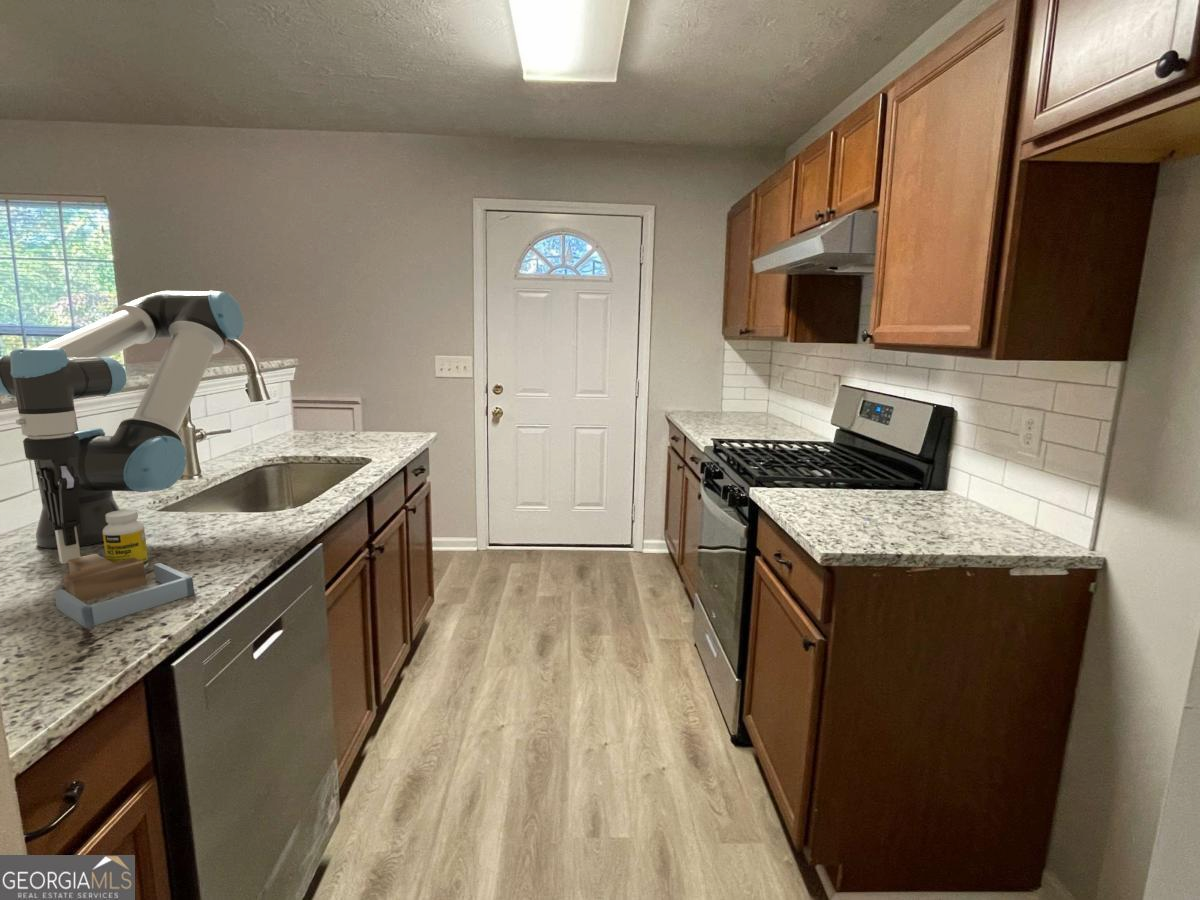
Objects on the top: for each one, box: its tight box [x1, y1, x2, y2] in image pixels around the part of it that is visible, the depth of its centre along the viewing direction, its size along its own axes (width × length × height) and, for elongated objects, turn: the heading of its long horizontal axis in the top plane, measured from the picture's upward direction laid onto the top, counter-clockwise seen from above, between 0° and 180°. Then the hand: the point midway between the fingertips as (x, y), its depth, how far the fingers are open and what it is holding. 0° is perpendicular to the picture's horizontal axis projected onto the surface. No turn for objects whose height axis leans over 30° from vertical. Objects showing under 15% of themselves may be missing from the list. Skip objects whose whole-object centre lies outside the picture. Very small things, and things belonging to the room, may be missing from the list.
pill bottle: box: [103, 509, 149, 569], centre depth 115 cm, size 6×6×11 cm
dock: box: [53, 562, 195, 629], centre depth 102 cm, size 12×15×3 cm
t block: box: [63, 553, 147, 602], centre depth 108 cm, size 12×10×4 cm
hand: (70, 560), depth 114 cm, fingers closed
